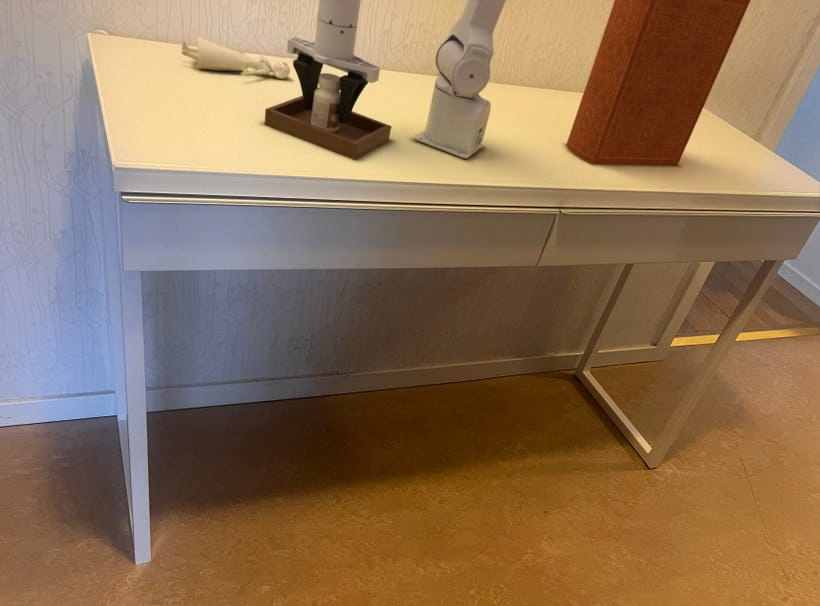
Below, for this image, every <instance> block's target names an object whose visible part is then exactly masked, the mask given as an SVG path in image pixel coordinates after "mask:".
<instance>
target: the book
mask: <svg viewBox="0 0 820 606" xmlns="http://www.w3.org/2000/svg"><path fill="white" fill-rule="evenodd" d="M750 3H751V0H614V1H613V5H612V6H611V10H610V13H609V17H608V18H607V19H608V20H607V22H606V25H605V28H604V32H603V35H602V37H601V40H600V43H599V46H598V48H597V53H596V55H595V58H594V61H593V63H592V67H591V70H590V73H589V76H588V79H587V82H586V85H585V88H584V91H583V94H582V97H581V100H580V103H579V105H578V108H577V112H576V115H575V117H574V121H573V123H572V127H571V130H570V132H569V136H568V139H567V142H566V145H565V146H566V147H567V149H568V151H569V152H571V153H572V154H573V155H575V156H576V157H577V158H579V159H581V160H582V161H584V162H586V163H588V164H591V165H614V166H615V165H618V166H619V165H620V166H621V165H622V166H667V167H668V166H670V167H672V166H673V167H678V165H679V163H680V161H681V159H682V158H683V155H684V152H685V150H686V147H687V146H688V143H689V140H690V138H691V136H692V134H693V132H694V130H695V127H696V126H697V123H698V120H699V118H700V116H701V114H702V111H703V109H704V107H705V104H706V102H707V100H708V98H709V95H710V93H711V91H712V88H713V86H714V84H715V82H716V80H717V77H718V76H719V73H720V71H721V68H722V66H723V63H724V62H725V59H726V57H727V55H728V52H729V50H730V47H731V46H732V43H733V42H734V39H735V36H736V34H737V32H738V31H739V28H740V25H741V23H742V21H743V18H744V16H745V14H746V11H747V9H748V7H749V5H750Z"/></svg>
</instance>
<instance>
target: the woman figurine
mask: <svg viewBox="0 0 820 606" xmlns="http://www.w3.org/2000/svg"><path fill="white" fill-rule="evenodd" d="M181 55H183V56H185V57H187V58H191V59H193V60H195V61H197V70H208V71H209V70H211V71H241V72H240V76H242V77H244V76H248V75H266V76H268V75H270V74H271V73H272V74H273V75H274V77H276V78H277V79H282V80H283V79H286V78H288V77H289V76H290V73H291V69H290V67H289V64H288V63H286V62H282V63H280V61H279V62H275V63H274V66H273V65H272V63H271V62H270V61H269V60H268V59H267V58H265V57H264V56H262V55H258V57H259V58H254V57H251V56H249V55H247V54H245V53H244V52H242V51H236V50H235V49H234V50H233V49H231V48H228V47H226V46H223V45H222V44H219V43H215V42H213V41H210V40H207V39H205V38H202V37H200V36H199V37H198V40H197V48H194V47H191V46H188V45H187V43H186V41H185V39H183V40H182V44H181ZM250 68H252V69H253V70H251V71H250V70H249V71H248V70H247V69H250ZM254 69H255V70H254Z"/></svg>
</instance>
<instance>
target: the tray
mask: <svg viewBox="0 0 820 606" xmlns="http://www.w3.org/2000/svg"><path fill="white" fill-rule="evenodd" d="M312 109H313V108H312ZM312 109H310V110H306V109H304V101H303V95H300V96H298V97H295V98H292V99H289V100H286V101H283V102H281V103H278V104H275V105H272V106H269V107H268V108H265V110H264V111H265V114H264V125H265V126H267V127H270V128H273V129H276V130H277V131H280V132H283V133H286V134H288V135H291V136H292V137H296V138H298V139H301V140H303V141H306V142H308V143H310V144H314V145H317V146H319V147H321V148H324V149H326V150H329V151H331V152H334V153H337V154H339V155H342V156H344V157H347V158H349V159H352V160H357V159H358V158H360V157H362V156H363V155H365V154H367V153H369V152H371V151H373V150H374V149H376V148H379V147H380V146H382V145H383V144H385V143H387V142H389V141H390V138H391V137H390V136H391V131H392V125H390V124H387V123H384V122H382V121H380V120H377V119H374V118H371V117H369V116H366V115H363V114H361V113H358V112H355V111H353V110H352V112H351V114H350V117H349V121H347V122H344V123H340V125H339V129H338V130H337V131H335V132H330V131H327V130H325V129H322V128H320V127H317V126H314V125H312V124H311V117H312Z"/></svg>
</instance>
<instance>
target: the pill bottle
mask: <svg viewBox="0 0 820 606" xmlns="http://www.w3.org/2000/svg"><path fill="white" fill-rule="evenodd" d="M340 77H341V76H339V75H337V74H334V73H328V72H323V73H322V72H321V74H320V75H319V82H318V88H317V89H316V90H315V92H314V100H313V109H312V117H311V124H312V125H314V126H317V127H320V128H322V129H325V130H327V131H330V132H335V131H337V130H338V129H339V125H340V122H338V115H339V108H340V99H341V91H340Z"/></svg>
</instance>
